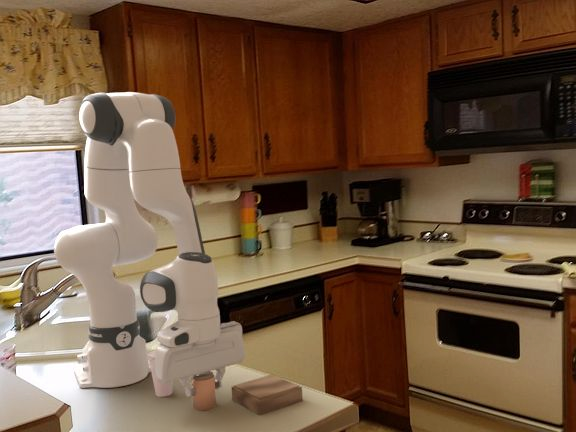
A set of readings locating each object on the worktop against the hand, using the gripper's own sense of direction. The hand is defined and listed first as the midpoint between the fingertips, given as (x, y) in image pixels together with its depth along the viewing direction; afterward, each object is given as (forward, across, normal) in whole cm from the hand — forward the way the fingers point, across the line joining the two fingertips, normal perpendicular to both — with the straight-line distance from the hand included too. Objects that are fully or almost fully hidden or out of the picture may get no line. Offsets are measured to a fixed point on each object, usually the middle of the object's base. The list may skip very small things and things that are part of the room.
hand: (203, 391), depth 131 cm
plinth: (+3, -12, +7) cm, 14 cm away
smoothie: (+3, +4, -13) cm, 14 cm away
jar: (+3, 0, 0) cm, 3 cm away
